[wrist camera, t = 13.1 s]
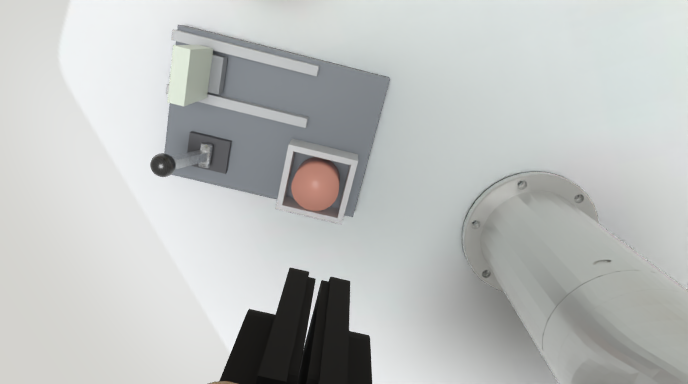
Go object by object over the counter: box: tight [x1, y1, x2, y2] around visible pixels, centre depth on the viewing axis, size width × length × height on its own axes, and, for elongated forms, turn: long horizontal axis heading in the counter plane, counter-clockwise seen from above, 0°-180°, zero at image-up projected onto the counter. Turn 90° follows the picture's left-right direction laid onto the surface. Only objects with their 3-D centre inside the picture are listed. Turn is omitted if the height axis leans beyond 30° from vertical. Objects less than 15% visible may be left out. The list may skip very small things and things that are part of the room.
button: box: [291, 157, 340, 211], centre depth 38 cm, size 4×4×3 cm
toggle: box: [150, 142, 213, 177], centre depth 35 cm, size 2×2×6 cm
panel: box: [165, 25, 390, 224], centre depth 37 cm, size 18×13×4 cm
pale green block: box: [167, 45, 228, 106], centre depth 33 cm, size 3×4×6 cm
